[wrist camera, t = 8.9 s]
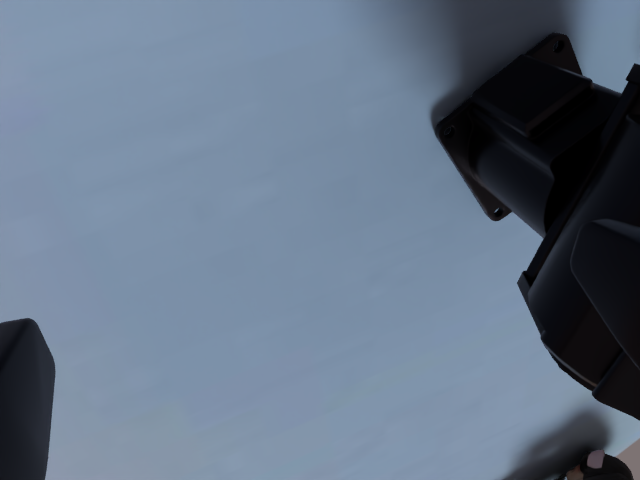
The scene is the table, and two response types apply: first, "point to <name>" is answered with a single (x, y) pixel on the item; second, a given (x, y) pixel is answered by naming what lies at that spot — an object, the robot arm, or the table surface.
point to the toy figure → (599, 468)
